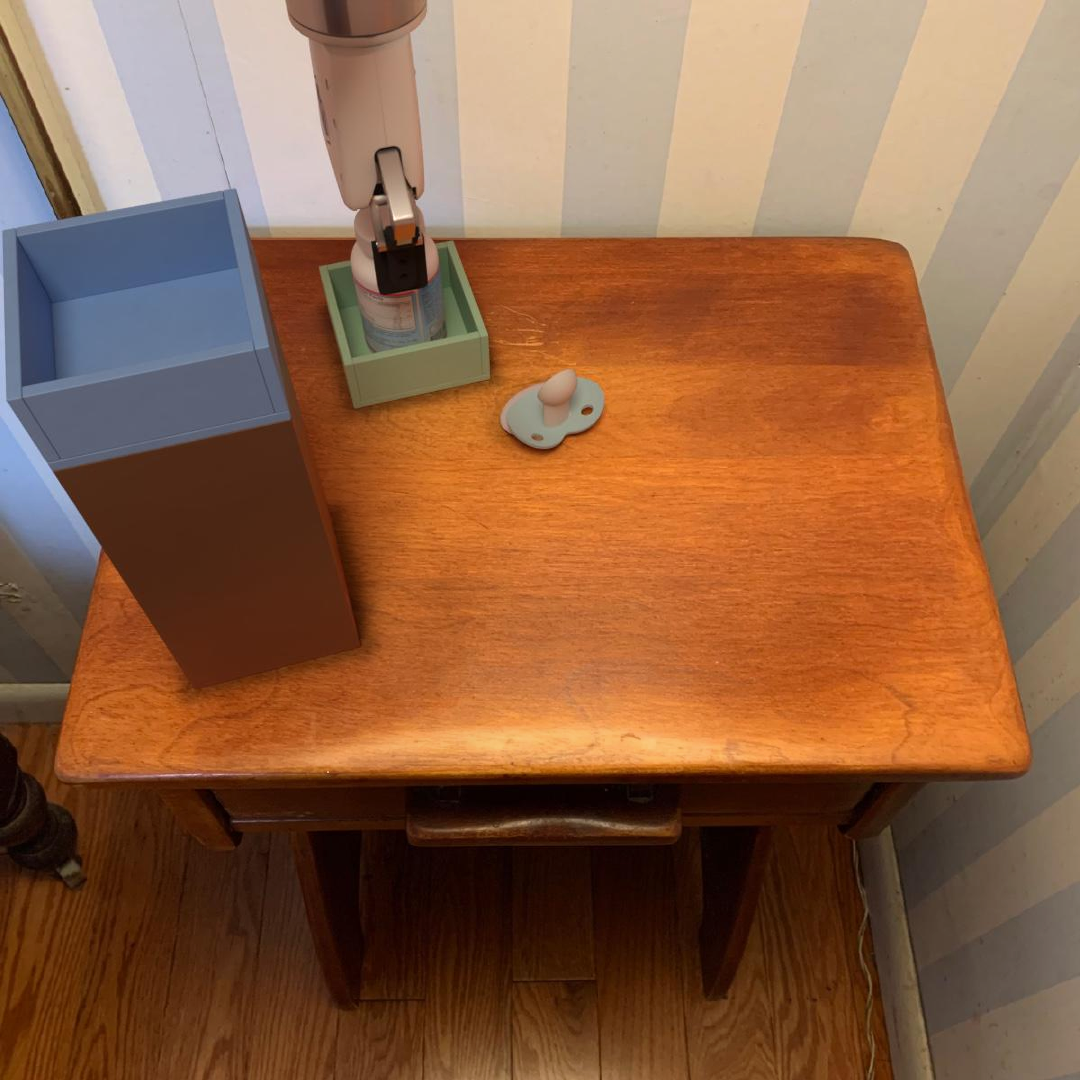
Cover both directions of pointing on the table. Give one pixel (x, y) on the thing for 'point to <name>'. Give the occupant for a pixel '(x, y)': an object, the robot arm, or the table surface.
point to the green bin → (415, 364)
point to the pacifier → (552, 409)
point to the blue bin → (178, 428)
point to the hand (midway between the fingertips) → (387, 239)
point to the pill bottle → (396, 294)
